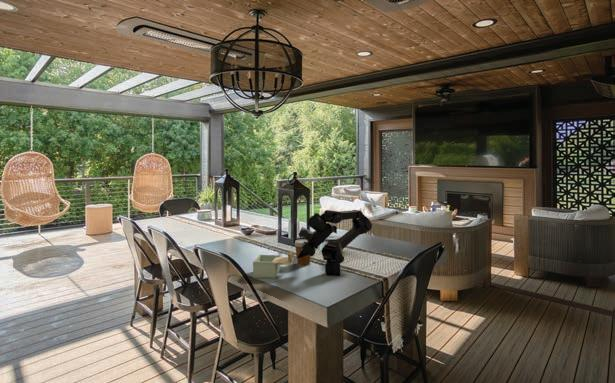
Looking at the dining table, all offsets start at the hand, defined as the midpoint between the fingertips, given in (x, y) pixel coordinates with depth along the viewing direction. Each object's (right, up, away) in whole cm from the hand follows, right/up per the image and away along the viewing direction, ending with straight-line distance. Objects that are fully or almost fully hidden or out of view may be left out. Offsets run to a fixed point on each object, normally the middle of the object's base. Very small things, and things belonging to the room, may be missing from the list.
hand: (297, 257), depth 173 cm
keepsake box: (-15, -8, +3) cm, 17 cm away
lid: (-7, -2, +1) cm, 8 cm away
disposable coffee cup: (+2, -7, +19) cm, 20 cm away
